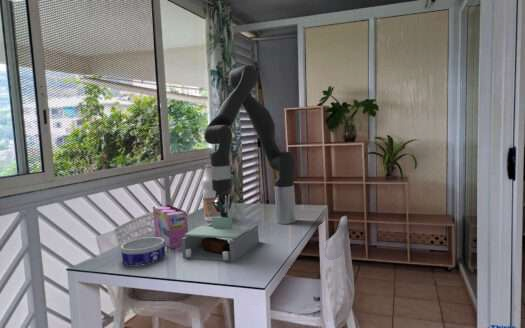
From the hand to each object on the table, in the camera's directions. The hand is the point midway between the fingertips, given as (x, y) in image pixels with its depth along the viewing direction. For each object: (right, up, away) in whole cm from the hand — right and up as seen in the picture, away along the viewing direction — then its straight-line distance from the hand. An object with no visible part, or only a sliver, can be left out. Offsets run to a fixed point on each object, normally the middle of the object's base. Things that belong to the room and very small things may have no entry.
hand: (224, 221), depth 144 cm
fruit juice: (-10, -6, +46) cm, 47 cm away
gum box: (-24, -10, +14) cm, 30 cm away
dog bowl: (-29, -13, -7) cm, 33 cm away
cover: (-2, -3, -7) cm, 8 cm away
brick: (-2, -10, -7) cm, 13 cm away
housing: (-1, -10, -3) cm, 11 cm away
